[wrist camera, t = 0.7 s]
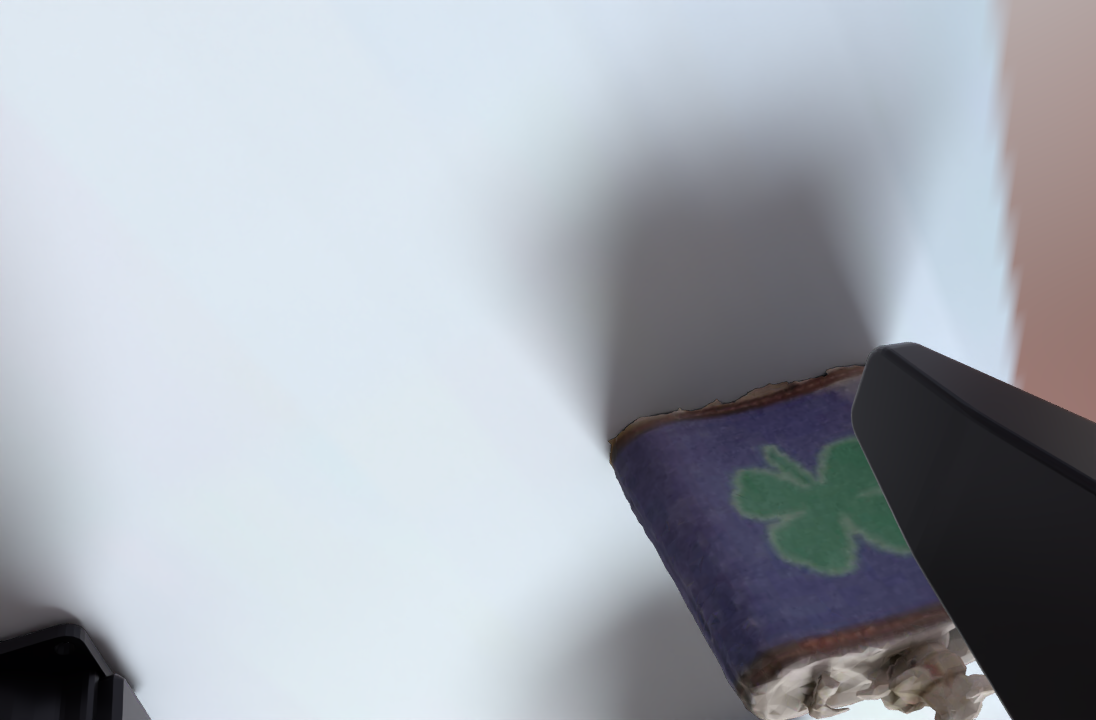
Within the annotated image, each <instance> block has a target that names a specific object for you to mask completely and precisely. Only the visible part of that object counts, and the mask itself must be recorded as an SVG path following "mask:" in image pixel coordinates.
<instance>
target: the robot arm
mask: <svg viewBox="0 0 1096 720" xmlns="http://www.w3.org/2000/svg"><path fill="white" fill-rule="evenodd" d="M851 423H852V427H853V431H854V434H855V436H856V438H857V440H858V442H859V444H860V447H861V449H862V451H863V453H864V455H865V457H866V459H867V461H868V463H869V466H870V468H871V470H872V472H873V474H874V476H875V478H876V480H877V482H878V485H879V487H880V489H881V491H882V493H883V495H884V497H885V499H886V502H887V504H888V506H889V508H890V510H891V512H892V514H893V516H894V518H895V521H896V523H897V525H898V527H899V529H900V531H901V533H902V535H903V537H904V539H905V541H906V543H907V545H908V547H909V549H910V551H911V553H912V555H913V557H914V559H915V560H916V562H917V564H918V566H919V567H920V569H921V571H922V573H923V574H924V576H925V578H926V579H927V581H928V583H929V584H930V586H931V588H932V589H933V591H934V593H935V594H936V596H937V597H938V599H939V601H940V602H941V604H942V606H943V607H944V609H945V611H946V612H947V614H948V616H949V617H950V619H951V621H952V622H953V624H954V625H955V627H956V629H957V630H958V632H959V634H960V635H961V637H962V639H963V640H964V642H965V644H966V645H967V647H968V649H969V650H970V652H971V653H972V655H973V657H974V658H975V660H976V662H977V663H978V665H979V667H980V668H981V670H982V672H983V673H984V675H985V677H986V678H987V680H988V681H989V683H990V685H991V686H992V688H993V690H994V691H995V693H996V695H997V696H998V698H999V700H1000V701H1001V703H1002V705H1003V706H1004V708H1005V710H1006V711H1007V713H1008V714H1009V716H1010V718H1011V719H1012V720H1096V423H1095V422H1093V421H1090V420H1088V419H1086V418H1084V417H1081V416H1079V415H1077V414H1075V413H1072V412H1070V411H1068V410H1066V409H1063V408H1061V407H1059V406H1057V405H1054V404H1052V403H1050V402H1048V401H1045V400H1043V399H1041V398H1039V397H1036V396H1034V395H1032V394H1030V393H1028V392H1025V391H1023V390H1021V389H1019V388H1016V387H1014V386H1012V385H1010V384H1007V383H1005V382H1003V381H1001V380H998V379H996V378H994V377H992V376H989V375H987V374H985V373H983V372H980V371H978V370H976V369H974V368H971V367H969V366H967V365H965V364H962V363H960V362H958V361H956V360H953V359H951V358H949V357H947V356H944V355H942V354H940V353H938V352H935V351H933V350H931V349H929V348H926V347H924V346H922V345H920V344H917V343H912V342H904V343H897V344H891V345H884V346H879V347H877V348H875V349H874V350H873V351H872V352H871V353H870V355H869V356H868V358H867V361H866V364H865V367H864V370H863V374H862V377H861V380H860V383H859V386H858V389H857V392H856V395H855V398H854V402H853V405H852V409H851ZM62 642H69V643H62ZM0 720H151V718H150V717H149V715H148V714H147V712H146V711H145V709H144V707H143V706H142V704H141V703H140V701H139V700H138V698H137V696H136V695H135V693H134V692H133V690H132V689H131V687H130V686H129V684H128V682H127V681H126V679H125V678H123V677H121V676H120V675H118V674H113V673H112V671H111V670H110V668H109V667H108V665H107V663H106V662H105V660H104V659H103V657H102V656H101V654H100V653H99V651H98V650H97V648H96V646H95V645H94V643H93V642H92V640H91V639H90V637H89V636H88V634H87V633H86V631H85V630H84V629H83V628H82V627H80V626H77V625H75V624H63V625H57V626H54V627H51V628H47V629H44V630H41V631H37V632H34V633H31V634H27V635H24V636H21V637H17V638H14V639H10V640H7V641H4V642H0Z"/></svg>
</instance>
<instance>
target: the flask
mask: <svg viewBox="0 0 1096 720" xmlns="http://www.w3.org/2000/svg"><path fill="white" fill-rule="evenodd" d="M864 367H865V366H855V365H852V366H848V367H843V366H842V367H835V368H833V369H831V368H830V369H828V370H826V373H827V374H828V375H826V376H825V377H823V376H820V377H817V378H810V379H808V380H802V381H801V382H797V381H794V382H793V383H788V382H782V383H779V384H774V385H772V384H770V383H769V384H768V385H767V386H765V387H763V388H755V389H754V390H752V391H751V392H750V393H749V392H748V393H747V396H742V398H740V399H738V400H736V402H731V403H727V404H722V403H721V402H719V401H718V400H717V399H716V400H715V401H714V402H713V403H709V404H708V405H707V406H705V407H703V408H702V409H699V410H694V411H687V410H681V408H678V411H673V413H669V414H660V415H657V416H651V417H640V418H638V419H637V420H635V421H634V423H631V424H630V425H629V426H628V427H626V428H625V431H621V432H620V433H619V435H618V436H617V437H615V438H613V439H611V440H609V441H608V442H609V443H610V444H611V453H610V464H611V465H612V467H613V469H614V471H615V475H616V478H617V479H618V481H619V483H620V485H621V488H622V490H623V492H624V495H625V497H626V499H627V500H628V502H629V503H630V506H631V510H632V511H633V513H634V514H635V516H636V517H637V519H638V521H639V523H640V524H641V525H642V526H643V528H644V531H645V533H646V535H647V536H648V538H649V539H650V541H651V542H652V543H653V545H654V546H655V548H656V550H657V552H658V554H659V556H660V558H661V560H662V562H663V564H664V566H665V568H666V570H667V571H668V573H669V574H670V576H671V577H672V579H673V580H674V582H675V584H676V586H677V588H678V589H679V591H680V593H681V595H682V597H683V599H684V601H685V603H686V605H687V607H688V608H689V610H690V612H691V613H692V615H693V617H694V619H695V621H696V623H697V625H698V626H699V628H700V630H701V632H702V634H703V636H704V637H705V639H706V641H707V643H708V644H709V646H710V648H711V649H712V651H713V653H714V655H715V656H716V658H717V660H718V662H719V664H720V665H721V667H722V670H723V672H724V674H725V677H726V679H727V680H728V682H729V684H730V685H731V687H732V688H733V689H734V691H735V692H736V693H737V695H738V696H739V697H740V699H741V700H742V702H743V704H744V705H745V707H746V709H747V710H749V711H750V712H751V713H753V714H754V715H755V716H757V717H758V718H759V719H765V720H787V719H791V718H796V717H800V716H803V715H805V714H808V713H809V715H810V716H812V717H814V718H816V719H820V718H826V717H832V716H834V715H837V714H840V713H843V712H846V711H848V710H850V709H849V708H842V709H834V708H838V707H843V706H847V705H851V704H854V703H857V702H859V701H862V700H878V699H880V698H881V699H882V701H883V703H884V706H885V707H886V708H887V709H889V710H899V711H901V712H903V713H906V714H908V713H911V712H913V711H916V710H920V709H922V708H923V707H924V706H930V707H931V708H932V709H934V710H935V711H936V714H935V720H973V718H976V717H977V716H978V714H979V713H980V711H981V708H982V701H983V700H984V699H985V697H987V696H989V695H991V694H993V693H995V691H994V690H993V688H992V686H991V685H990V683H989V681H988V680H987V678H986V677H985V675H979V674H973V675H970V676H966V675H965V673H966V668H967V667H966V666H965V665H967V664H969V663H971V662H974V661H976V660H975V658H974V657H973V655H972V653H971V652H970V650H969V649H968V647H967V645H966V644H965V642H964V640H963V639H962V637H961V635H960V634H959V632H958V630H957V629H956V627H955V625H954V624H953V622H952V621H951V619H950V617H949V616H948V614H947V612H946V611H945V609H944V607H943V606H942V604H941V602H940V601H939V599H938V597H937V596H936V594H935V593H934V591H933V589H932V588H931V586H930V584H929V583H928V581H927V579H926V578H925V576H924V574H923V573H922V571H921V569H920V567H919V566H918V564H917V562H916V560H915V559H914V557H913V555H912V553H911V551H910V549H909V547H908V545H907V543H906V541H905V539H904V537H903V535H902V533H901V531H900V529H899V527H898V525H897V523H896V521H895V518H894V516H893V514H892V512H891V510H890V508H889V506H888V504H887V502H886V499H885V497H884V495H883V493H882V491H881V489H880V487H879V485H878V482H877V480H876V478H875V476H874V474H873V472H872V470H871V468H870V466H869V463H868V461H867V459H866V457H865V455H864V453H863V451H862V449H861V447H860V444H859V442H858V440H857V438H856V436H855V434H854V431H853V427H852V423H851V409H852V405H853V402H854V398H855V395H856V392H857V389H858V386H859V383H860V380H861V377H862V374H863V370H864Z"/></svg>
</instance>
